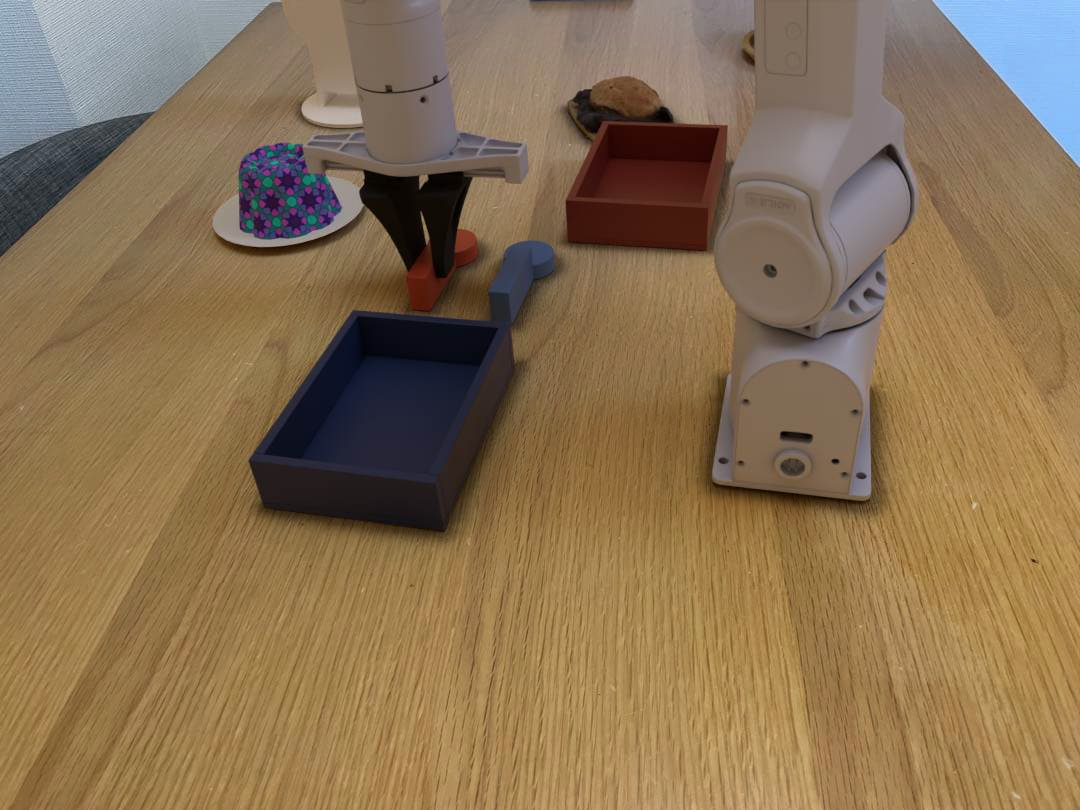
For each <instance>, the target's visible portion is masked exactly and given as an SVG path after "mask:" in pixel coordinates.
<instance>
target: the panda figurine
mask: <svg viewBox="0 0 1080 810" xmlns="http://www.w3.org/2000/svg"><path fill="white" fill-rule="evenodd" d="M280 2H281V7H282V11H283V14H284V16H285V19H286V21H287V23H288V25H289V26H290V28H291V30H292V31H293V33H294V34H295V35H296V36H297V37H298V38H299V39H300V40H301V41H302V42H303V43H305V45H307V48H308V53H309V58H310V62H311V66H312V72H313V78H314V83H315V91H316V92H314V93H313V94H312V95H310V96H309V97H307V98H306V99H305V100H304V101H303V102H302V105H301V108H300V109H301V114H302V117H303V118H304V119H305V120H306V121H307V122H309V123H311V124H313V125H316V126H320V127H325V128H332V129H351V128H353V129H354V128H364V127H363V122H362V116H361V111H360V105H359V100H358V95H357V89H356V84H355V78H354V73H353V67H352V62H351V57H350V51H349V46H348V41H347V35H346V30H345V24H344V19H343V14H342V9H341V4H340V0H280Z"/></svg>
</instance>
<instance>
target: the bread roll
mask: <svg viewBox="0 0 1080 810" xmlns="http://www.w3.org/2000/svg"><path fill="white" fill-rule="evenodd" d="M566 104H567V105H566V106H567V107H566V108H567V109H568V112H569V114H570V116H571V117H572V119H573V120H574V123H576V125H577V128H579V129H580V130H581V131H582V132H583V133H584V134H585V135H586V136H585V138H587V139H588V138H589V139H590V141H592V142H593V141H594V139H595V137H596V135H597V133H598V131H599V129H600V126H601V124H602V122H603V121H616V122H646V123H675V121H674V116H673V114H672V112H671V111H670V109H669V108H668V107H667V106H664V103H663V101H662V99H661V98H660V95H659V94H658V92H657V91H656V90H655V89H653V88H652V87H651V86H650V85H649V84H647V83H646V82H645V81H644V80H641V79H639V78H636V77H634V76H630V75H624V76H615V77H612V78H608V79H607V78H606V79H603V80H601V81H598V82H597V83H596V84H594V85H592V88H584V89H583V90H578V91H577V93H576V94H575V96H574V97H573V98H570V99H569V100H567V102H566ZM572 119H571V120H572Z"/></svg>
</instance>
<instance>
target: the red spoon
mask: <svg viewBox="0 0 1080 810" xmlns="http://www.w3.org/2000/svg"><path fill="white" fill-rule="evenodd" d="M477 237H478V236H477V235H476V234H475V232H472V231H471V230H468V229H463V228H458V230H457V236H456V245H455V264H454V266H453V268H452V270H451V271H450V273H449V275H448V276H447V278H437V277H436V273H435V270H434V266H433V262H432V254H431V245H430V239H429V238H428V241H427V242H426V246H425V248H424V250H423V251H422V253H421V254H420V256H419V257H418V259H417V260H416V262H415V263H414V265H413V266H412V268H411V269H410V271H409V272H408V271H407V274H406V275H405V282H406V288H407V294H408V300H409V305H410V309H411V310H412V311H423V312H426V311H427V312H430V311H432V308H433V307H434V305H435V304H436V302H437V301H438V298H439V297H440V295H441V293H442V292H443V290H444V289H445V287H446V285H447V284H448V282H449V280H450V278H451V276H452V275H453V274H454V271H455V270H456V268H457V267H461V266H462V267H463V266H465V265H469V264H470V263H472V262H474V261H475V260H476V259H477V257H478V256H479V245H478V238H477Z"/></svg>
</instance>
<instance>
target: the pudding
mask: <svg viewBox="0 0 1080 810" xmlns="http://www.w3.org/2000/svg"><path fill="white" fill-rule="evenodd" d="M303 145H304V144H302V143H291V142H278V143H274V144H272V145H262V146H260V147H257V148H256V149H254V151H252V152H249V153H247V154H246V155H244V156H243V157H242V159H241V160H240V163H239V168H238V193H236V194H234V195H233V196H231V197H230V198H228V199H227V200H225V202H224V203H223V204H221V205H220V206H219V207H218V208H217V210H216V211H215V213H214V215H213V217H212V227H213V230H214V232H215V233H216V234H217V235H218V236H219V237H220V238H222V239H224V240H225V241H228V242H230V243H233V244H236V245H241V246H245V247H257V248H273V247H283V246H284V247H285V246H290V245H291V246H292V245H297V244H301V243H305V242H309V241H312V240H315V239H319V238H322V237H324V236H327V235H329V234H332V233H333V232H336V231H338V230H340V229H341V228H343V227H344V226H346V225H348V224H349V223H350V222H351V221H353V220H354V219H355V218H356V217H357V216H358V215H359V214H360V213H361V212H362V209H363V207H364V206H365V205H364V204H363V203H362V201H361V198H360V195H359V190H360V189H361V187H359V186H357V185H356V184H355V183H353V182H351V181H349V180H346V179H343V178H341V177H340V178H339V177H335V176H330V175H327V174H326V172H325V173H323V174H309V173H308V170H307V165H306V161H305V156H304V152H303V148H302V147H303Z"/></svg>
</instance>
